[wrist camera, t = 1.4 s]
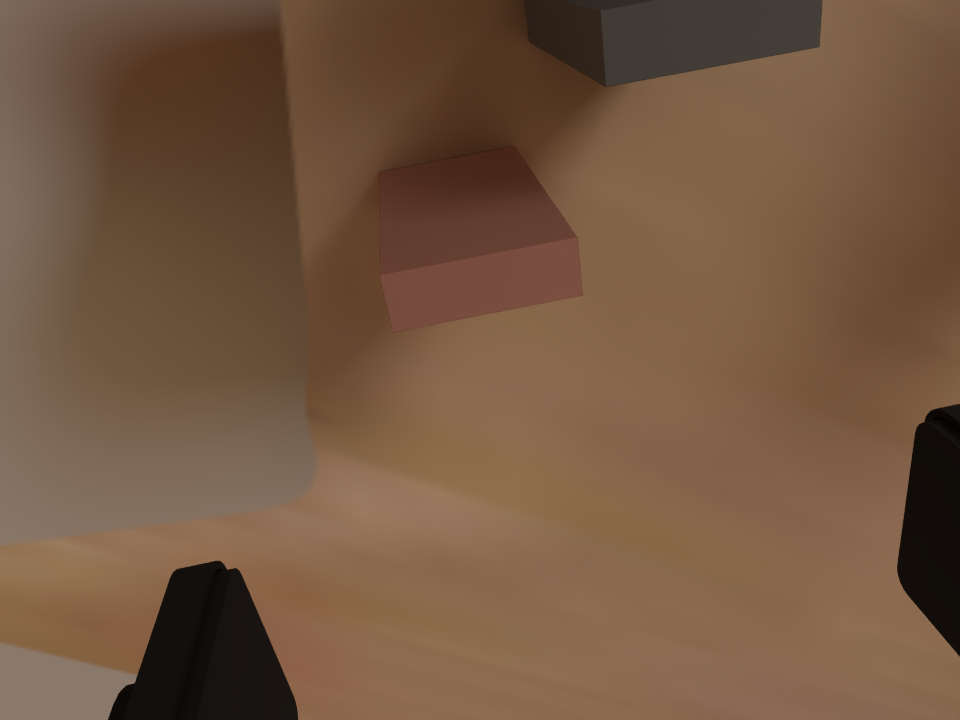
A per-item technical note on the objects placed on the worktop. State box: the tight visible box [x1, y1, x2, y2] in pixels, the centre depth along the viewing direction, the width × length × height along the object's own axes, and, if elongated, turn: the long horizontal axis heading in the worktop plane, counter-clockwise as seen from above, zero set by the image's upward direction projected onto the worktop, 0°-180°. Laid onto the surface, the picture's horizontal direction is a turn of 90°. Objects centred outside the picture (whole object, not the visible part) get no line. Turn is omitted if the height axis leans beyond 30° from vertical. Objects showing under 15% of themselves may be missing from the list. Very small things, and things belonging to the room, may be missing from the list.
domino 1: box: [379, 146, 583, 332], centre depth 23 cm, size 2×5×10 cm, turn 99°
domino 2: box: [525, 0, 822, 87], centre depth 21 cm, size 2×5×10 cm, turn 99°
